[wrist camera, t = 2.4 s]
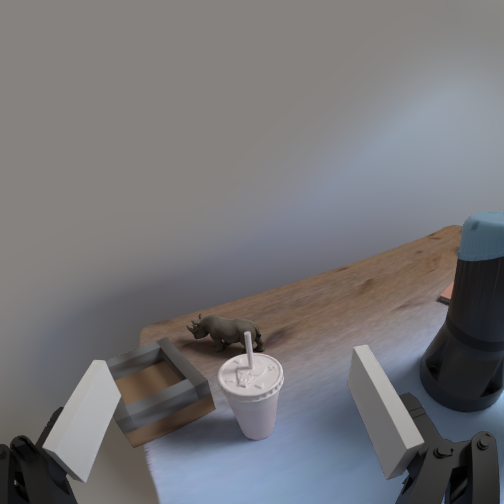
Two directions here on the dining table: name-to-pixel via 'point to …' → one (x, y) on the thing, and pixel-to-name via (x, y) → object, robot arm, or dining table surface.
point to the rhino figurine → (226, 331)
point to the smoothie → (252, 390)
